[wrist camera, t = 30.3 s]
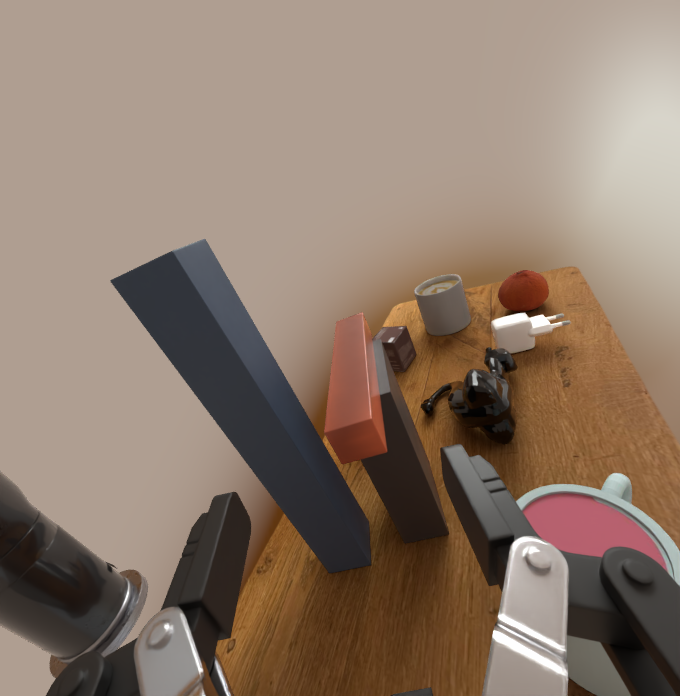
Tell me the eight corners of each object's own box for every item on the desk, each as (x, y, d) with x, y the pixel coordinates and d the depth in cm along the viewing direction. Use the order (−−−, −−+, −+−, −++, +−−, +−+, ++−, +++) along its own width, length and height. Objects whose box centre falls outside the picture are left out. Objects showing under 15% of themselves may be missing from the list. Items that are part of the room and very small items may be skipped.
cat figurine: (428, 462, 46) (453, 397, 60) (529, 445, 37) (531, 374, 51) (393, 406, 45) (427, 353, 59) (489, 376, 36) (502, 323, 50)
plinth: (404, 543, 35) (334, 409, 27) (393, 471, 44) (338, 353, 36) (449, 534, 34) (390, 391, 26) (429, 461, 43) (380, 338, 35)
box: (393, 354, 71) (382, 326, 68) (417, 355, 67) (407, 325, 64) (380, 370, 67) (368, 342, 64) (404, 372, 63) (393, 342, 60)
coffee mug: (464, 334, 66) (453, 291, 62) (420, 337, 73) (407, 298, 68) (478, 304, 75) (469, 264, 71) (437, 309, 81) (427, 273, 77)
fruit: (503, 301, 71) (497, 268, 68) (550, 295, 66) (546, 258, 63) (498, 321, 65) (491, 286, 62) (550, 315, 60) (545, 277, 57)
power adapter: (562, 329, 55) (559, 299, 53) (575, 342, 51) (572, 311, 49) (494, 345, 59) (488, 318, 57) (500, 359, 55) (494, 330, 53)
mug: (662, 751, 19) (671, 688, 15) (504, 626, 26) (481, 560, 22) (702, 556, 25) (717, 473, 21) (566, 499, 32) (557, 429, 28)
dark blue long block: (329, 573, 35) (109, 280, 21) (331, 530, 40) (152, 263, 25) (371, 565, 34) (172, 250, 20) (369, 521, 39) (205, 238, 24)
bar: (341, 465, 21) (323, 433, 20) (345, 343, 37) (336, 321, 36) (387, 452, 20) (371, 418, 19) (371, 334, 36) (362, 311, 35)
